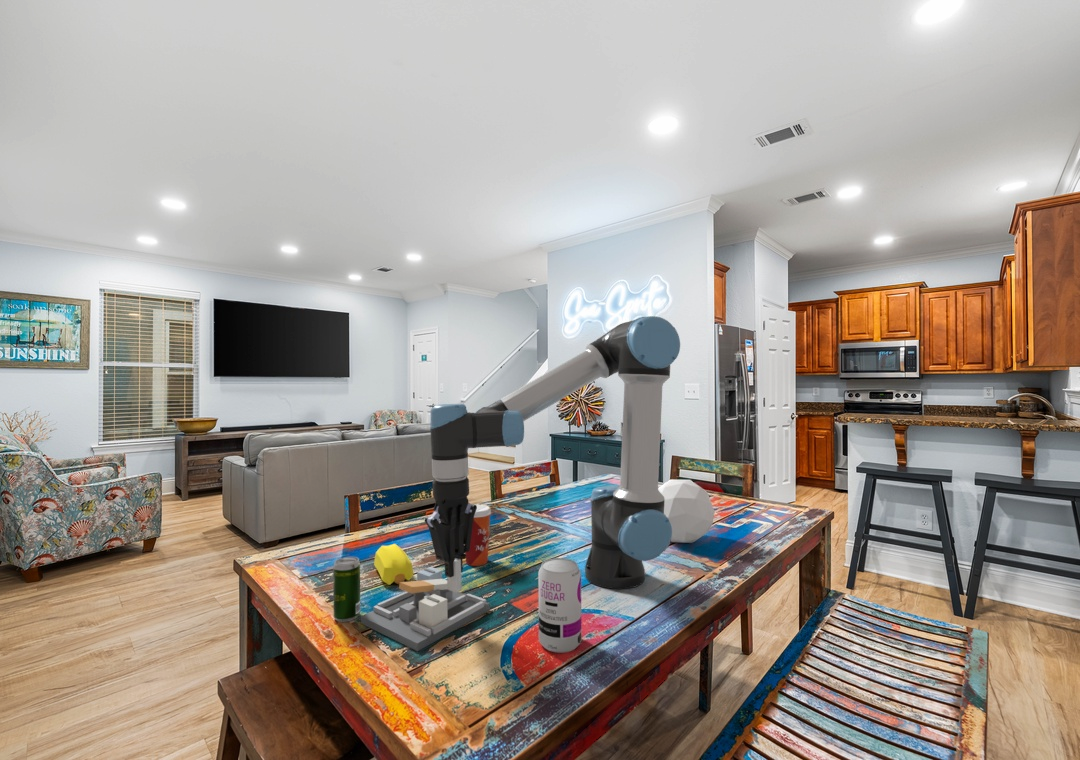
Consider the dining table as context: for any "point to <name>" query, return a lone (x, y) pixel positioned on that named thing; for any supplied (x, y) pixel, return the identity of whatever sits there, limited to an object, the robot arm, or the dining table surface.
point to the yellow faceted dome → (393, 564)
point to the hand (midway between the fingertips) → (454, 589)
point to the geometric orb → (687, 510)
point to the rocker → (423, 585)
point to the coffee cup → (479, 537)
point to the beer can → (346, 589)
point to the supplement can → (559, 605)
